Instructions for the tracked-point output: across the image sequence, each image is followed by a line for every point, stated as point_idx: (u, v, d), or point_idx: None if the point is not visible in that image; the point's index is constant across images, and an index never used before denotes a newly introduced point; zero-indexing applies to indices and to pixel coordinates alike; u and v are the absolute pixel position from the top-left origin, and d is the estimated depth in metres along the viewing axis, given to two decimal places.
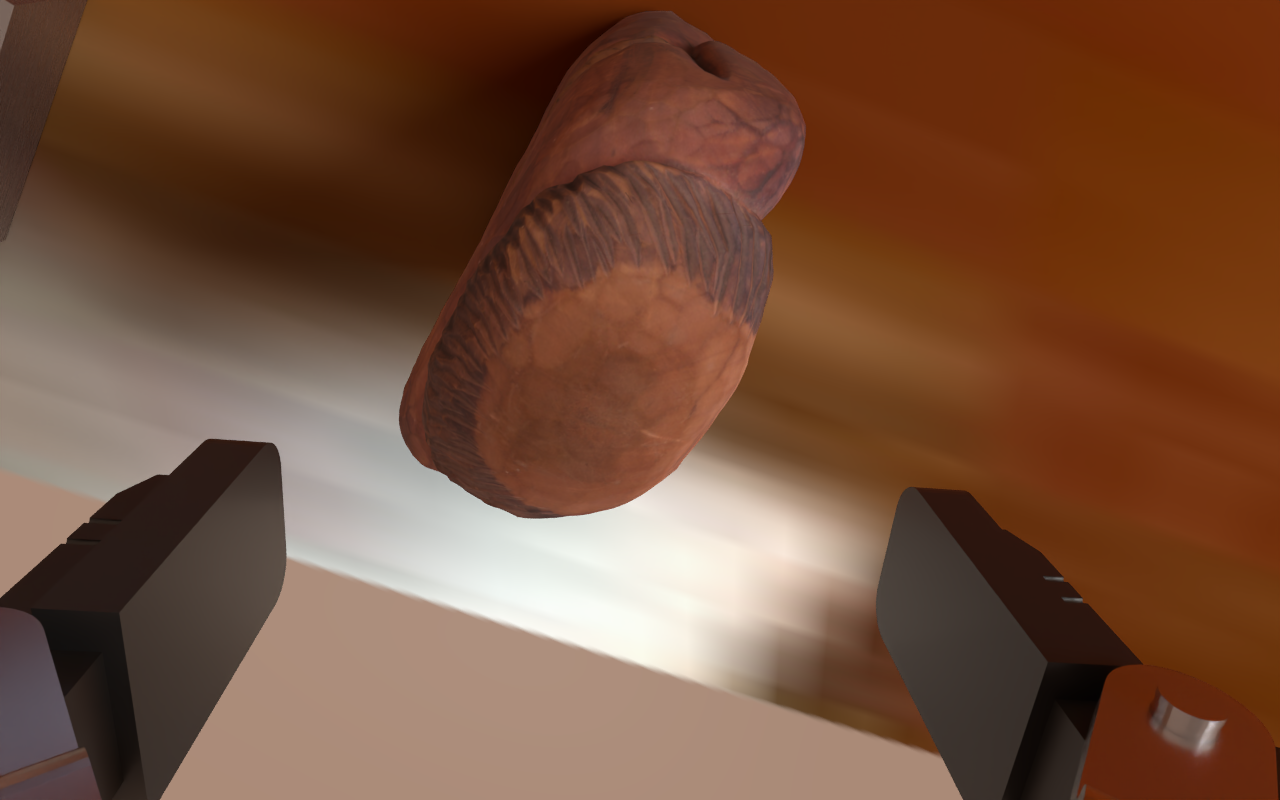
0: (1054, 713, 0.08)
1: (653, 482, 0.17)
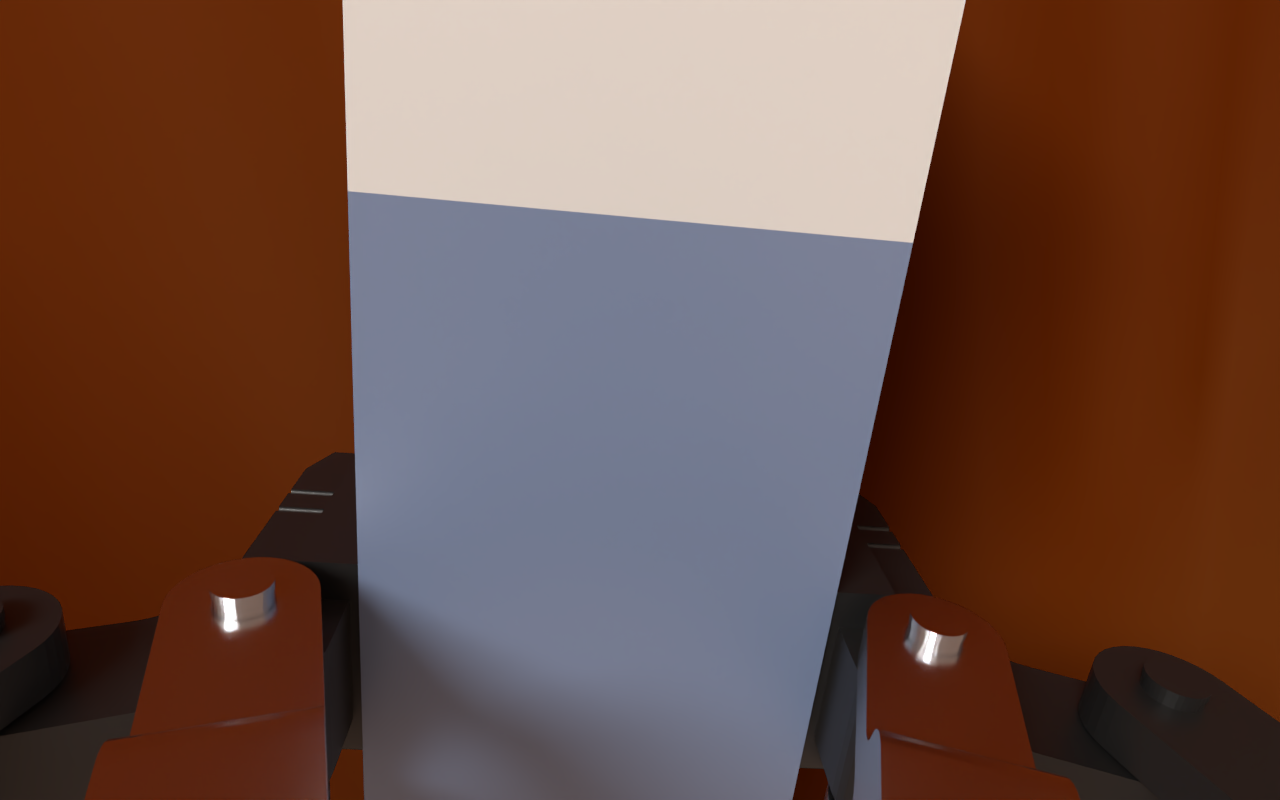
0: (840, 641, 0.08)
1: None
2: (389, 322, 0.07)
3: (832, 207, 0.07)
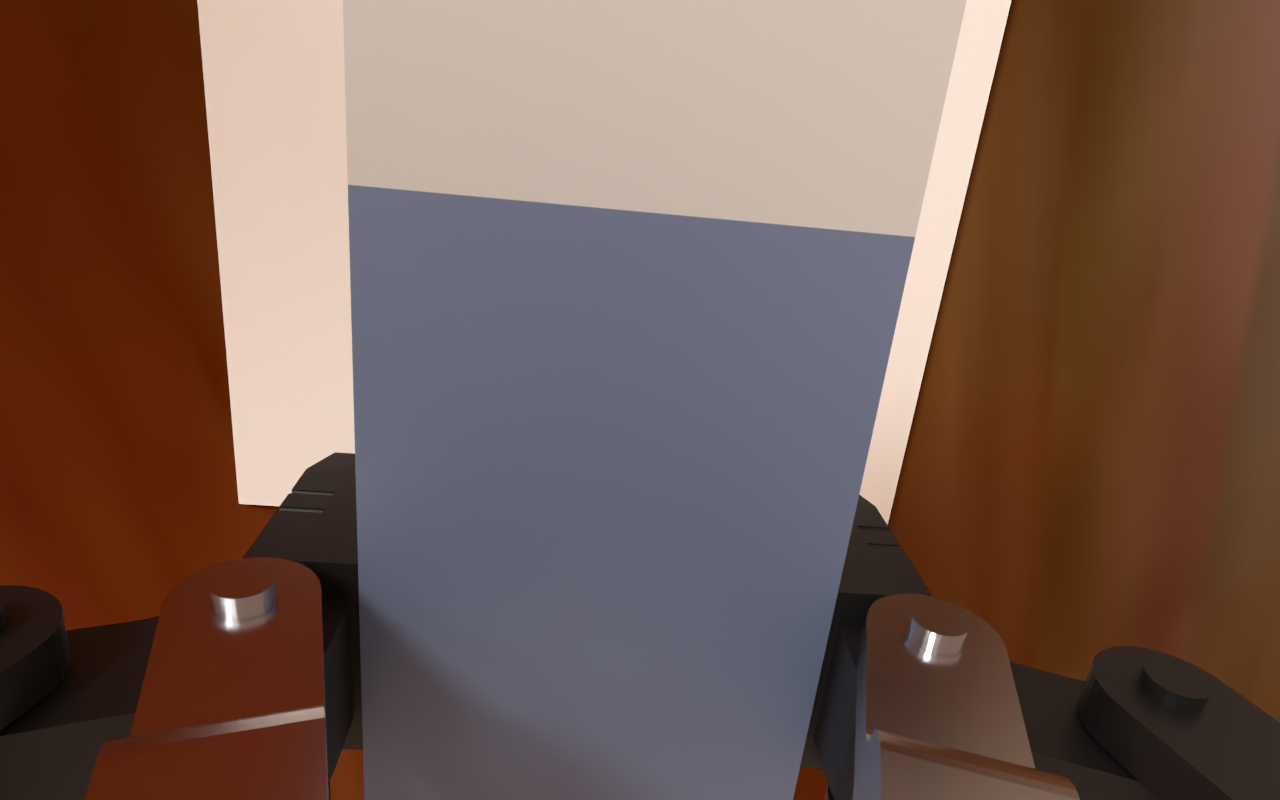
0: (839, 641, 0.08)
1: None
2: (389, 316, 0.07)
3: (834, 201, 0.07)
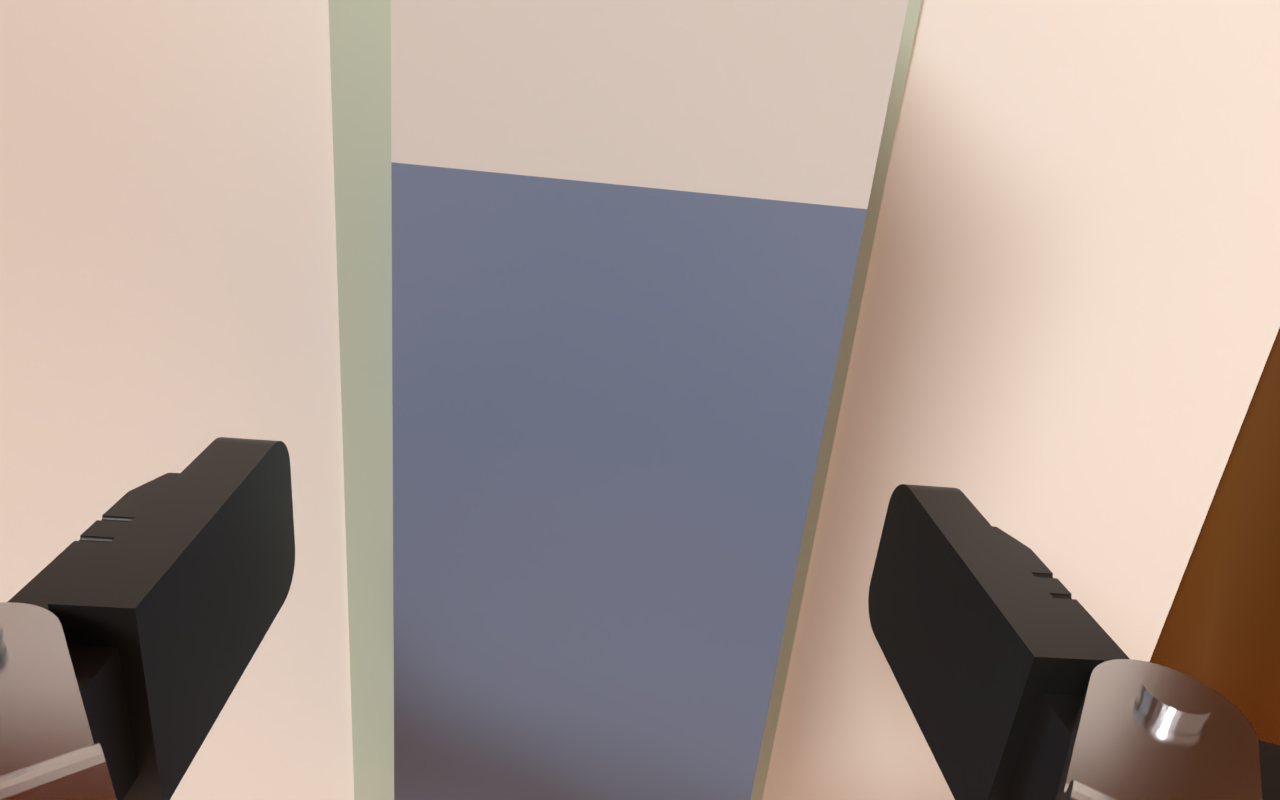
0: (1040, 708, 0.08)
1: None
2: (424, 274, 0.08)
3: (798, 178, 0.08)
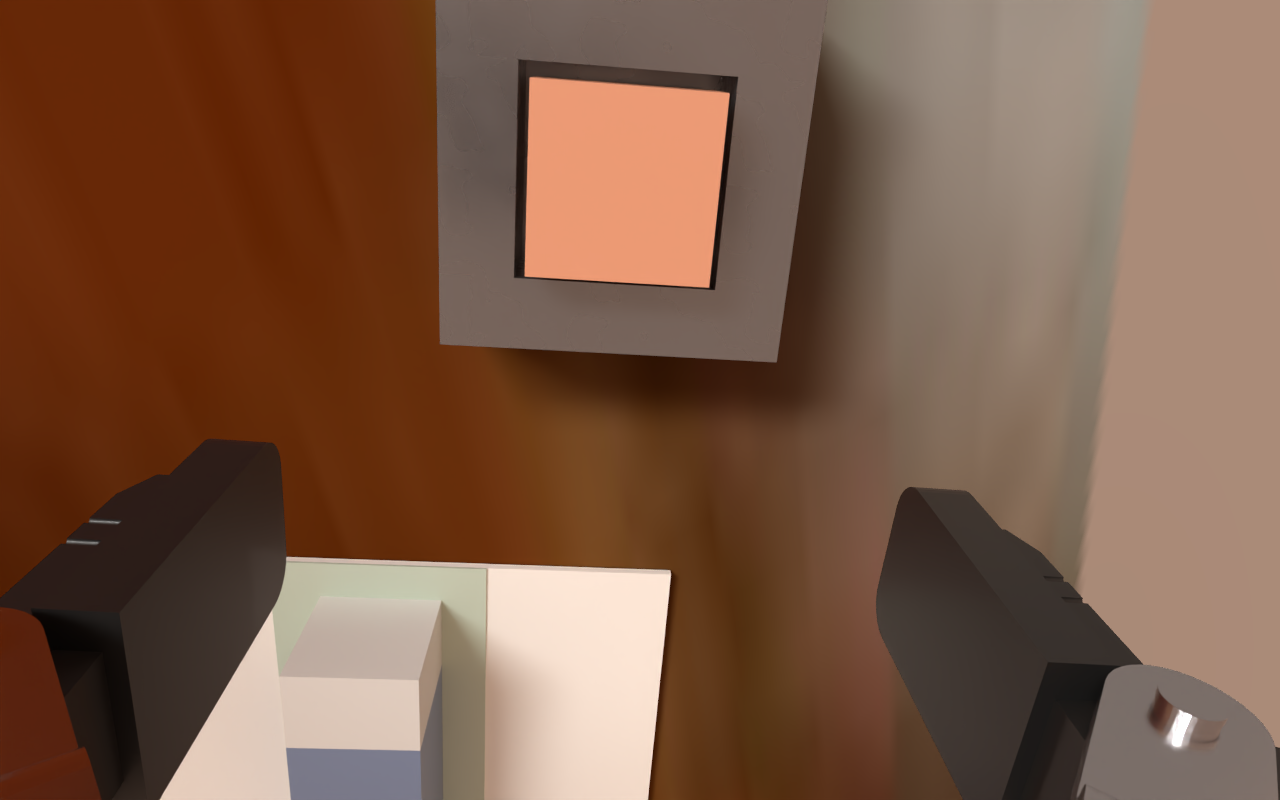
0: (1054, 713, 0.08)
1: None
2: (297, 771, 0.29)
3: (399, 745, 0.29)
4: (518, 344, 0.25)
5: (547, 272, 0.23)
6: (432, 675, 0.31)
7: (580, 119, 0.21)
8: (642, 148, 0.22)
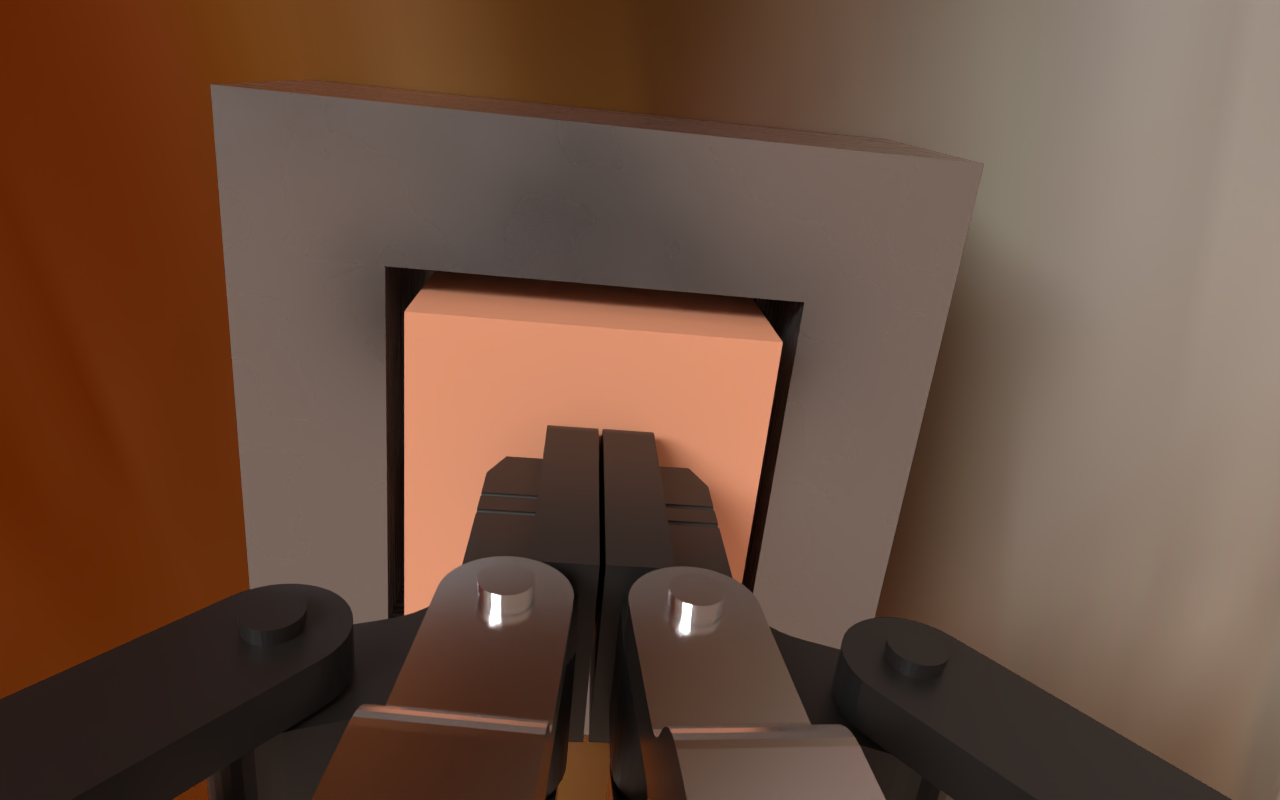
0: (623, 614, 0.08)
1: None
2: None
3: None
4: None
5: None
6: None
7: (502, 384, 0.11)
8: None
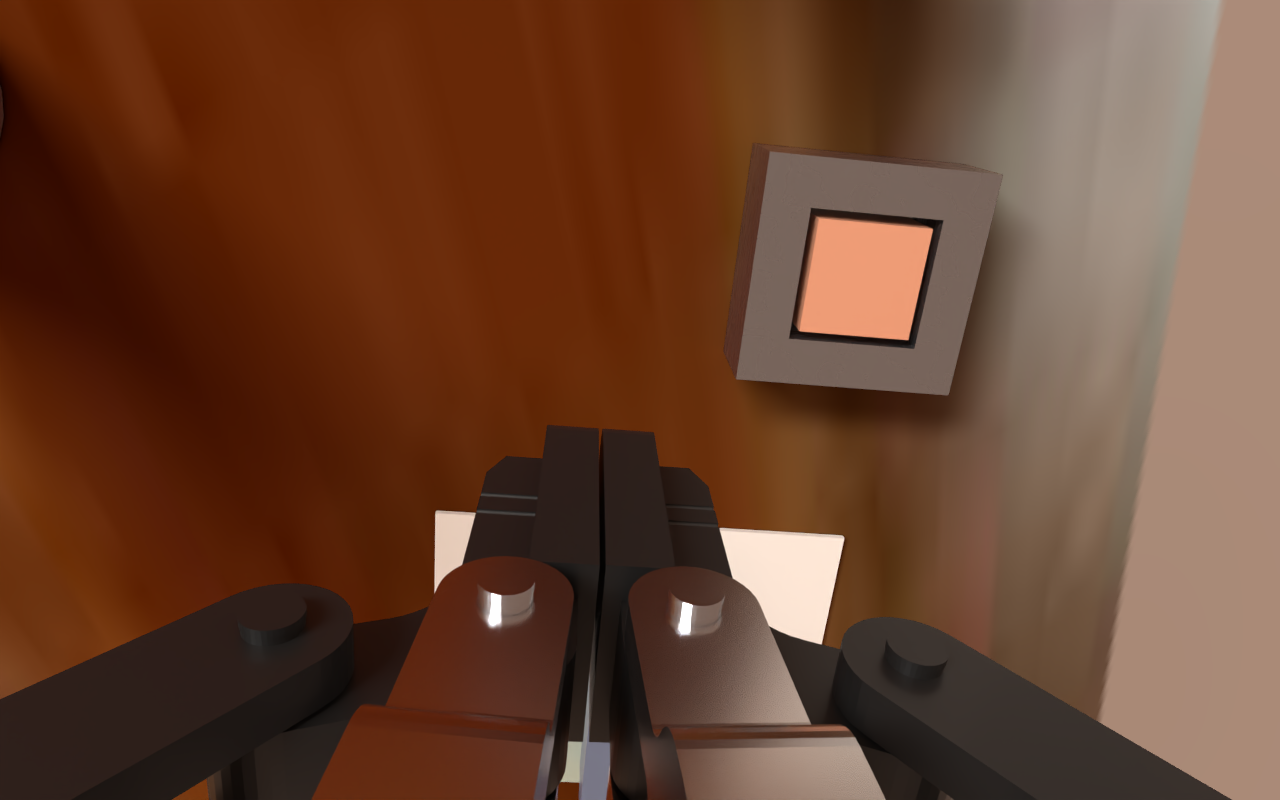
0: (623, 614, 0.08)
1: None
2: None
3: None
4: (785, 380, 0.38)
5: (813, 329, 0.38)
6: None
7: (844, 242, 0.36)
8: (878, 258, 0.36)
